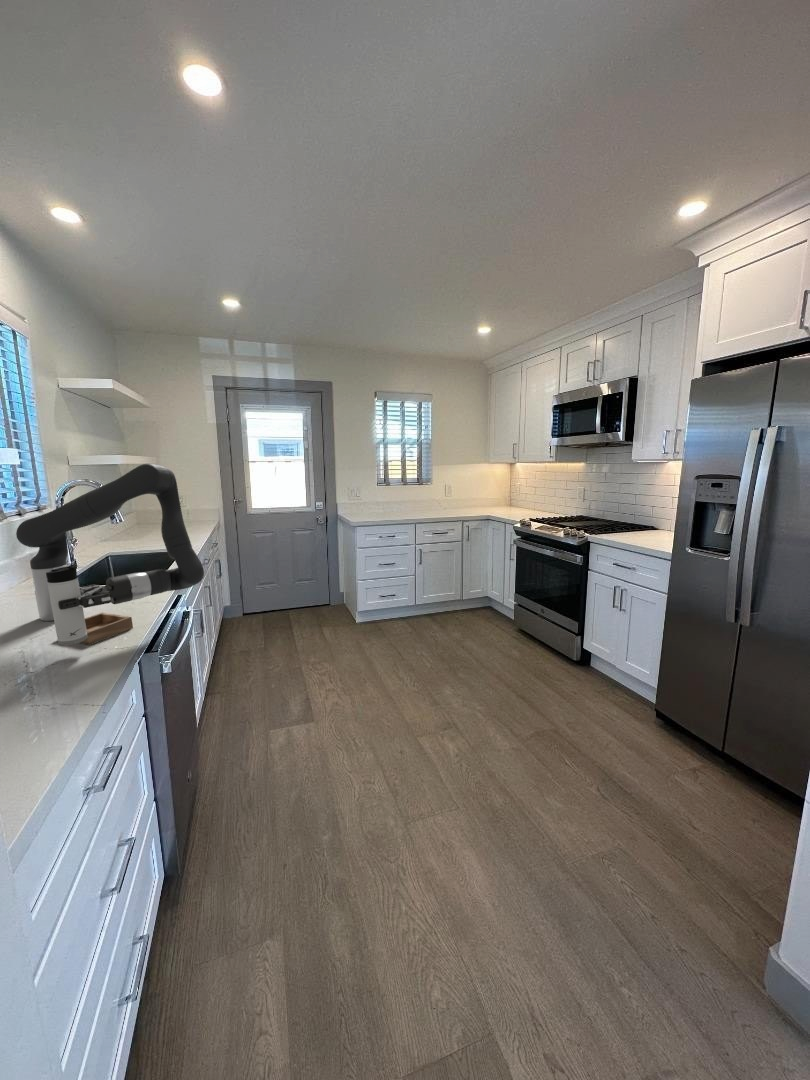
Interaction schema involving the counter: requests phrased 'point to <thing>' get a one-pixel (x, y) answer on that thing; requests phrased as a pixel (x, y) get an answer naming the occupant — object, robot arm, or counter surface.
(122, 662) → the counter surface
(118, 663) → the counter surface
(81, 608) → the travel mug
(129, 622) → the walnut caddy
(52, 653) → the counter surface
